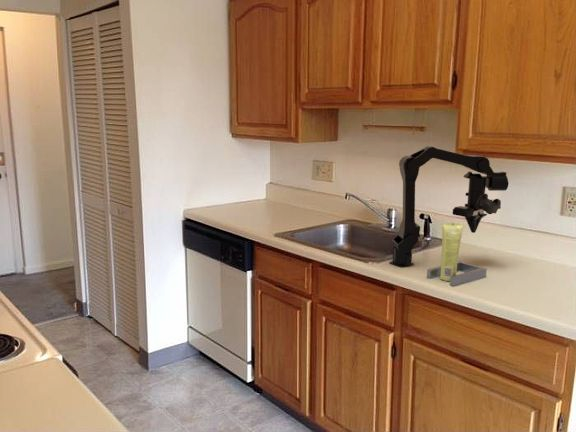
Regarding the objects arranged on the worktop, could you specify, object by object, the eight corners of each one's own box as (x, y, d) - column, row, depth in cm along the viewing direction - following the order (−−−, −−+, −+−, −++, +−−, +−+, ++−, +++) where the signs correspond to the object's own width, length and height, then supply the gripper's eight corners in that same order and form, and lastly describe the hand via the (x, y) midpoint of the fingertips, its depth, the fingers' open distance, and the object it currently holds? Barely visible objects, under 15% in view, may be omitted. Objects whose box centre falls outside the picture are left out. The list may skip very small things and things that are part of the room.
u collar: (426, 277, 181) (427, 269, 180) (459, 269, 190) (459, 261, 190) (453, 286, 172) (454, 277, 171) (485, 277, 182) (486, 268, 181)
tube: (445, 275, 183) (449, 220, 179) (459, 279, 179) (463, 222, 175) (437, 279, 178) (441, 222, 175) (451, 282, 175) (456, 225, 171)
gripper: (480, 195, 180) (476, 240, 183) (511, 191, 190) (507, 233, 193) (453, 191, 189) (450, 234, 192) (484, 187, 199) (481, 227, 202)
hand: (473, 232), depth 195 cm, fingers closed
